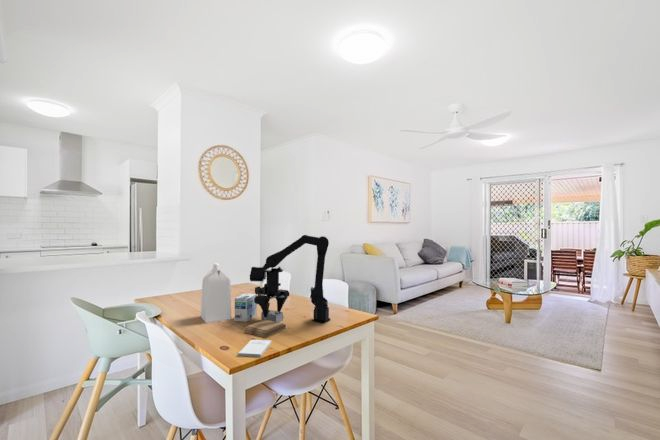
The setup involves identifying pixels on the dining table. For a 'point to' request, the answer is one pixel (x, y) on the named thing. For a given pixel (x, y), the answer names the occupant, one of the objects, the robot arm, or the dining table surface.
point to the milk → (216, 296)
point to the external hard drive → (255, 348)
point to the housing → (273, 316)
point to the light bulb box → (245, 307)
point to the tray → (265, 328)
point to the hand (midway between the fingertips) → (272, 314)
